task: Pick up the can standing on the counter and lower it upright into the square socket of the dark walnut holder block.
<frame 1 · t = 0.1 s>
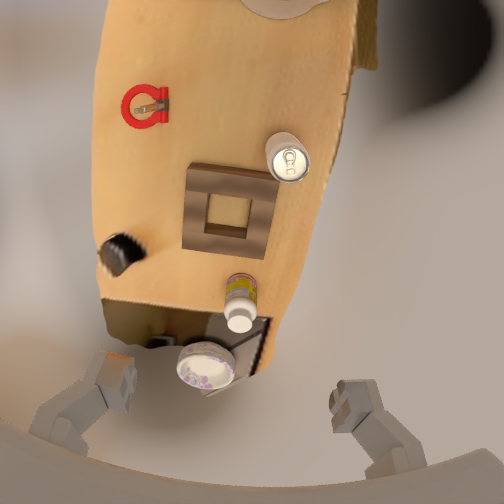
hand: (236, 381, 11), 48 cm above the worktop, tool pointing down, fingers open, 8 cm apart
can: (282, 148, 53), on the worktop
holder: (229, 207, 59), on the worktop
supplement bottle: (241, 284, 68), on the worktop
tow hook: (145, 106, 48), on the worktop
paper bowls: (208, 351, 81), on the worktop
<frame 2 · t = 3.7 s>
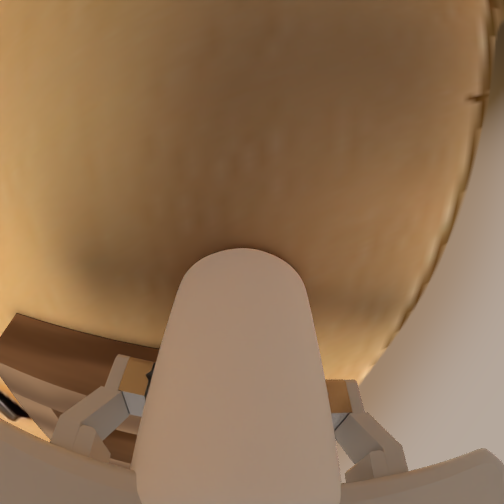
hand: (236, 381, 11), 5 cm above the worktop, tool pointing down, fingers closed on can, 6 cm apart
can: (242, 296, 15), on the worktop, touching gripper
holder: (126, 401, 21), on the worktop
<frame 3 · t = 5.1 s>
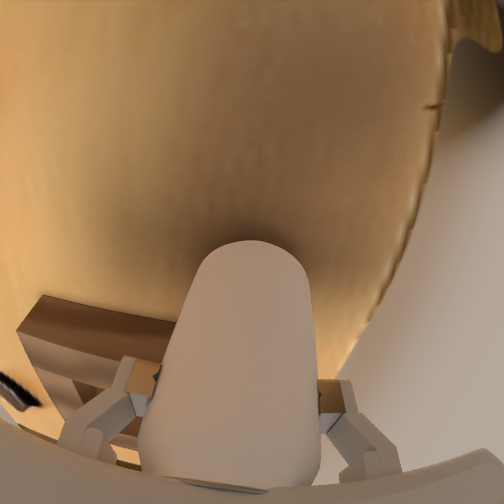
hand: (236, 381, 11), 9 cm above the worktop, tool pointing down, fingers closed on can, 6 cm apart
can: (252, 283, 18), point 1 cm above the worktop, touching gripper
holder: (138, 377, 25), on the worktop
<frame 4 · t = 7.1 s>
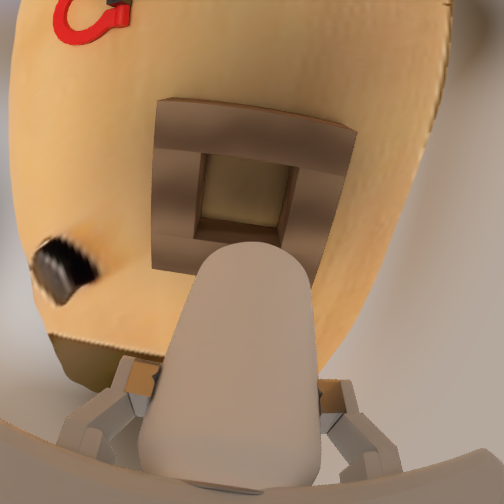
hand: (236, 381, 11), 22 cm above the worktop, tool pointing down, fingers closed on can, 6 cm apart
can: (253, 284, 18), point 14 cm above the worktop, touching gripper
holder: (244, 186, 29), on the worktop
tow hook: (93, 7, 19), on the worktop
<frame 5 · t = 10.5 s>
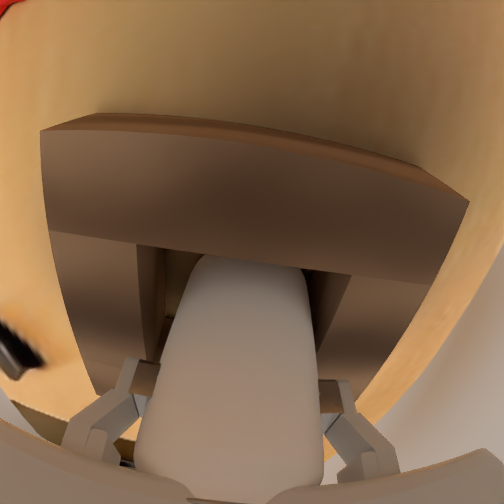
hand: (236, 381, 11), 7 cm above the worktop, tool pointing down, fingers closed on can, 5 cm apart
can: (248, 285, 17), resting in holder, touching gripper
holder: (236, 276, 17), on the worktop
when the fingers open (7 cm above the worktop, at t = 10.6 s): can stays where it is, resting in holder.
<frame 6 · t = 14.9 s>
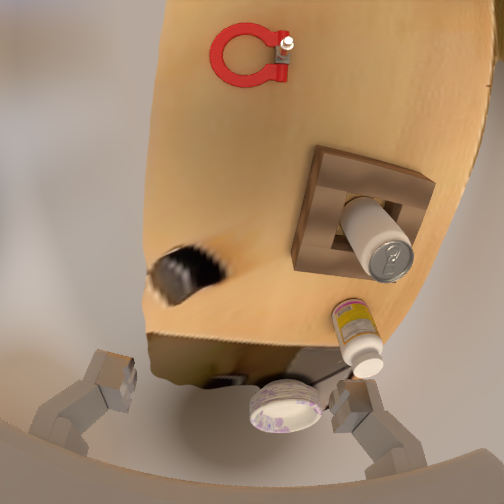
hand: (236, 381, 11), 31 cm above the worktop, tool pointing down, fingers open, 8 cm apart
can: (360, 216, 41), resting in holder
holder: (357, 212, 41), on the worktop
supplement bottle: (349, 310, 51), on the worktop
tow hook: (249, 55, 31), on the worktop
paper bowls: (283, 389, 63), on the worktop
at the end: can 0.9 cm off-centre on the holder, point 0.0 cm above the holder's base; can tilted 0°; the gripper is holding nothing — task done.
